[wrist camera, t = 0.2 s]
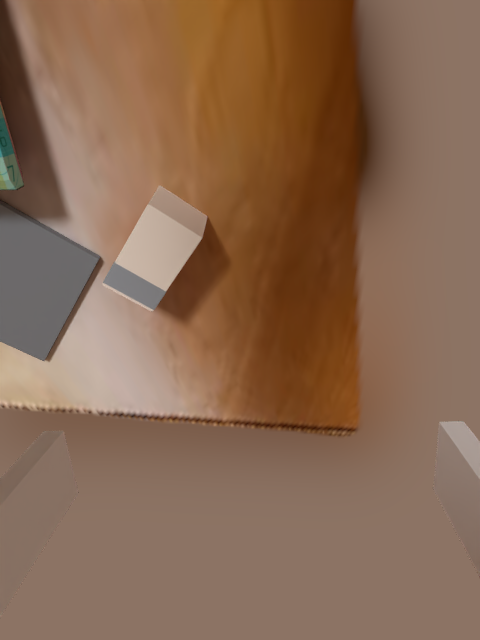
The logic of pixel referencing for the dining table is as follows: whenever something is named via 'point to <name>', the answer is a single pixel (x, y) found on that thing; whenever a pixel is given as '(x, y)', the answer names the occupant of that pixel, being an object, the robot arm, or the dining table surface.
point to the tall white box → (156, 249)
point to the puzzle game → (8, 158)
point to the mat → (37, 281)
